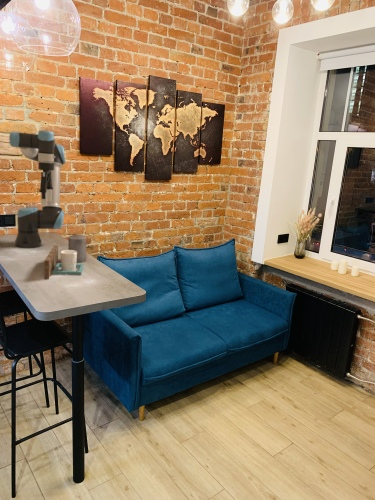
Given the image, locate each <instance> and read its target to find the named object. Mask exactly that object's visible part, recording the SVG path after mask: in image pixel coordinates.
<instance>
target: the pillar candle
mask: <svg viewBox="0 0 375 500" xmlns="http://www.w3.org/2000/svg"><path fill="white" fill-rule="evenodd" d="M67 250H75V251H77V261H76V264H80V263H84V262H86V261H87V236H86V235H83V234H72V235H69V236H68V249H67Z"/></svg>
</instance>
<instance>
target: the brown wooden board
mask: <svg viewBox="0 0 375 500" xmlns="http://www.w3.org/2000/svg"><path fill="white" fill-rule="evenodd" d="M43 263H44V264H43V267H44V268H43V270H44V271H43V273H44V274H43V275H44V276H43V277H44V278H43V279H44V280H49V279H50V278H49V277H51V276H52V274H53V271H54V269H55V267H56V265H57V263H59V247H58V245H54V246H53V247H52V248H51V249H50V252H49V253H48V255H47V256H46V258H45V259H44V262H43Z"/></svg>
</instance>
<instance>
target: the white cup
mask: <svg viewBox="0 0 375 500" xmlns="http://www.w3.org/2000/svg"><path fill="white" fill-rule="evenodd" d="M60 260H61V261H60V263H61V264H62V267H61V271H76V268H77V267H76V264H77V263H76V261H77V251H75V250H68V249H66V250H65V249H64V250H61V251H60Z"/></svg>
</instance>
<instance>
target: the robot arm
mask: <svg viewBox="0 0 375 500" xmlns="http://www.w3.org/2000/svg"><path fill="white" fill-rule="evenodd" d="M37 133H38V134H36V133H26V132H19V131H15V132H14V131H11V132H9V135H8V136H9V145H10V147H13V148H19V149H20V151H21V153H22V155H23V156H24V157H26V158H27V159H28V160H31V161H34V162H38V170H41V171H42V172H41V173H40V177H41V178H40V187H39V190H38V193H40V206H42V209H39V208H38V207H37V206H28V207H21V208H19V209H18V210H17V216H16V217H17V234H16V236H15V240H14V246H15V247H18V248H24V249H25V248H26V249H27V248H28V249H29V248H37V247H41V246H42V244H43V243H42V239H41V235H40V233H39V230H40V229H41V230H61V229H62V228H63V225H64V219H65V211H64V210H63V208H62V207H61V204H60V202H61V200H60V199H61V197H60V196H61V192H60V191H61V169H62V168H63V167H64V165H65V164H66V156H65V148H64V146H63V145H62V144H57V143H56V140H55V133H54V132H53V131H50V130H42V129H41V130H38V132H37Z"/></svg>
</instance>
